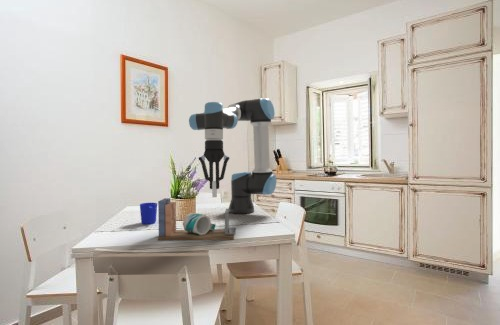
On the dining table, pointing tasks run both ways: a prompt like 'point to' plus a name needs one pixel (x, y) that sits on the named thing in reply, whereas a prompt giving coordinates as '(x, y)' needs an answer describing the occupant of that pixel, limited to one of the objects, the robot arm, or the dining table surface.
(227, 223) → the bookend
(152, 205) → the mug
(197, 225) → the mug
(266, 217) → the dining table surface
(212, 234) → the shelf
